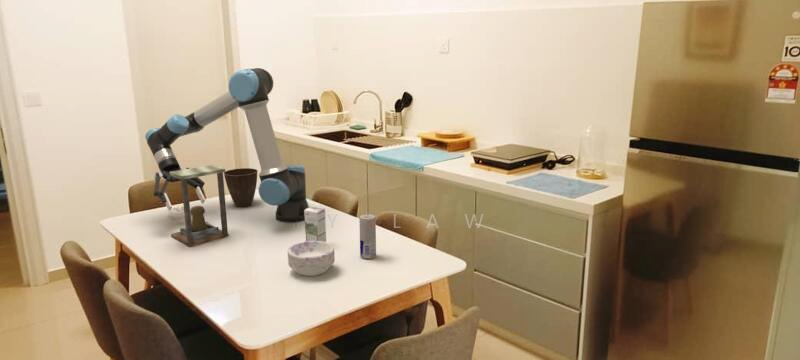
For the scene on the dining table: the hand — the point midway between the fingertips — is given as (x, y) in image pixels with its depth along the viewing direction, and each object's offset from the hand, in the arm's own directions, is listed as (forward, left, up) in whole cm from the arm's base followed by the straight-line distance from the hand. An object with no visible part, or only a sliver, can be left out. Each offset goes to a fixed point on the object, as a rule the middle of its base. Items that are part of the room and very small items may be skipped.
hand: (187, 205), depth 218 cm
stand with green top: (-6, +6, -11) cm, 14 cm away
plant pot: (-11, -37, -11) cm, 41 cm away
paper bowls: (-55, +39, -11) cm, 68 cm away
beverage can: (-73, +27, -11) cm, 79 cm away
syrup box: (-53, +16, -11) cm, 56 cm away
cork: (-6, +6, -10) cm, 13 cm away
